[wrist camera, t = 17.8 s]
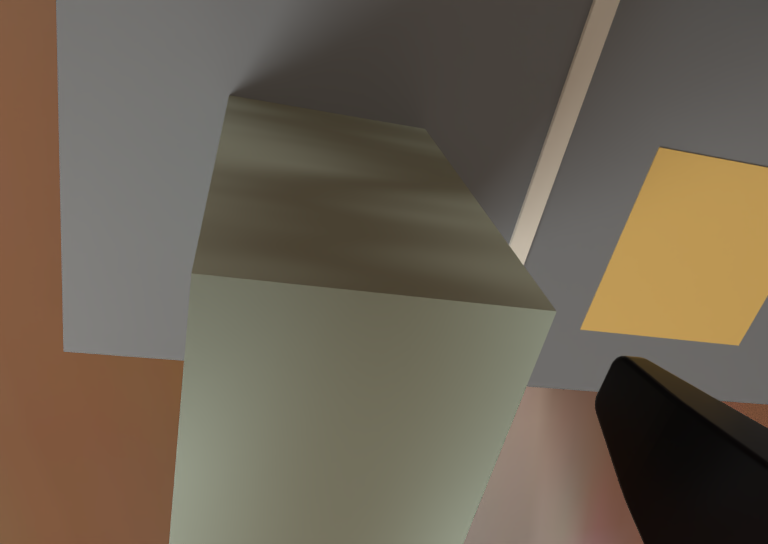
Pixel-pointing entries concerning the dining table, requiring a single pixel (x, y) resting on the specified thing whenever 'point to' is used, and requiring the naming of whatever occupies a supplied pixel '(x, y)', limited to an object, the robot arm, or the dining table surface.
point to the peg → (345, 338)
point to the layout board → (447, 157)
